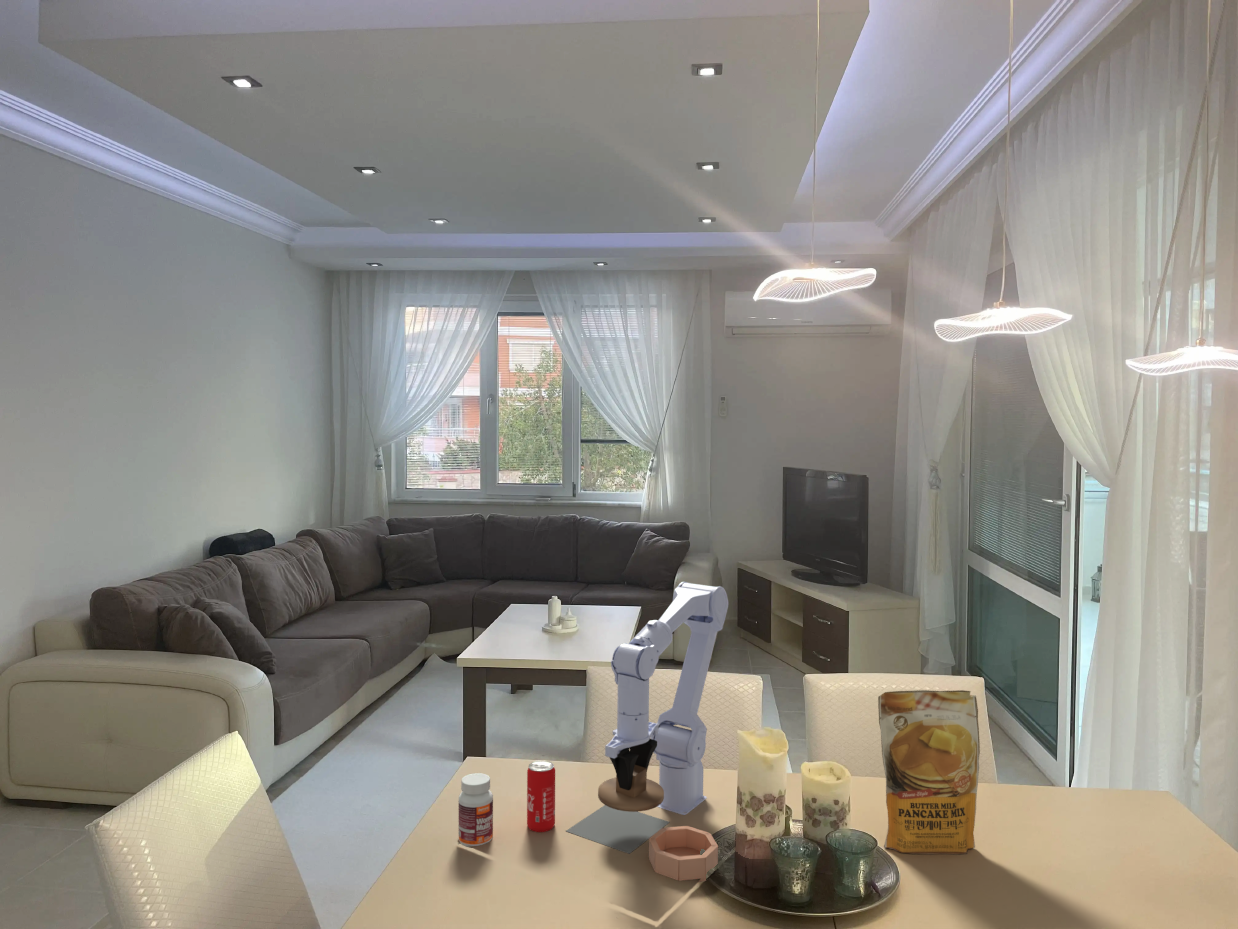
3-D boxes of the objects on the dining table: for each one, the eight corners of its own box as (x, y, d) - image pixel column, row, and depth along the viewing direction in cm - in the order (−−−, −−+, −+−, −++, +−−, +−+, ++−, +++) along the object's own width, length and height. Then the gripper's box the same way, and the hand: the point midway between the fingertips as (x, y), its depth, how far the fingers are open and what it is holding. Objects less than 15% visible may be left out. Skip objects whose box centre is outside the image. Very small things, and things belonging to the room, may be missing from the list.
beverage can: (550, 837, 151) (550, 772, 150) (523, 834, 152) (523, 770, 151) (558, 823, 156) (558, 761, 155) (531, 820, 157) (532, 758, 156)
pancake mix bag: (868, 836, 152) (872, 686, 151) (971, 836, 152) (976, 687, 151) (880, 855, 146) (884, 698, 144) (988, 855, 146) (993, 699, 144)
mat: (608, 805, 163) (608, 802, 163) (669, 825, 156) (669, 822, 156) (565, 834, 152) (565, 831, 152) (629, 857, 144) (629, 853, 144)
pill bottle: (481, 851, 145) (481, 788, 145) (451, 844, 148) (451, 782, 147) (499, 836, 151) (499, 775, 150) (470, 829, 153) (470, 769, 153)
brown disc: (622, 775, 159) (623, 750, 159) (675, 793, 152) (676, 767, 152) (584, 798, 149) (585, 771, 149) (640, 818, 142) (641, 790, 142)
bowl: (671, 842, 149) (671, 820, 149) (726, 860, 143) (726, 838, 143) (638, 869, 140) (638, 846, 140) (695, 890, 134) (696, 866, 134)
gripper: (636, 695, 158) (635, 765, 159) (591, 717, 146) (590, 792, 147) (668, 703, 154) (667, 774, 155) (624, 725, 142) (623, 803, 143)
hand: (632, 783), depth 151 cm, fingers closed on brown disc, 4 cm apart
